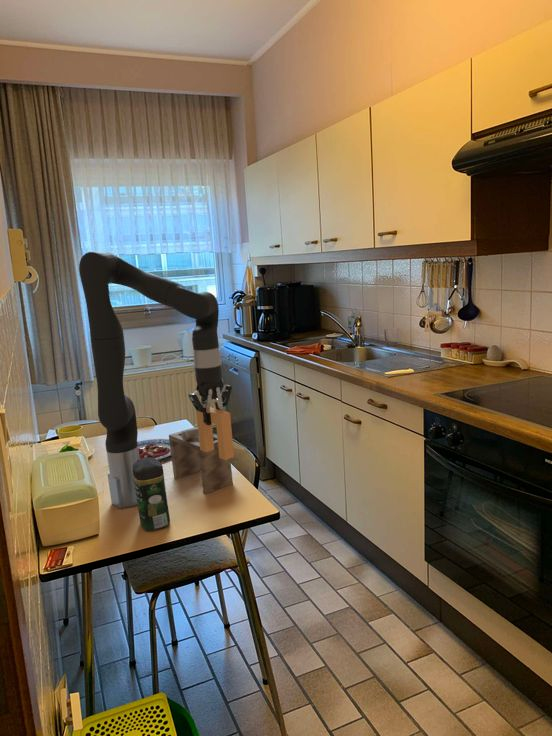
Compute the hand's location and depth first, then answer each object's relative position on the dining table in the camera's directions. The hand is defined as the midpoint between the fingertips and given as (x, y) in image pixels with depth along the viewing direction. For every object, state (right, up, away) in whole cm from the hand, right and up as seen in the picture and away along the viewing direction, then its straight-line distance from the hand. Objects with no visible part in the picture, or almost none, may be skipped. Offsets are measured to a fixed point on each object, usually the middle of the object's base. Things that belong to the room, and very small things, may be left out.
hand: (213, 423), depth 161 cm
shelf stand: (-6, -21, +24) cm, 32 cm away
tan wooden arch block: (+1, -9, +2) cm, 9 cm away
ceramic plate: (-31, -18, +54) cm, 65 cm away
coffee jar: (-16, -28, -4) cm, 32 cm away
